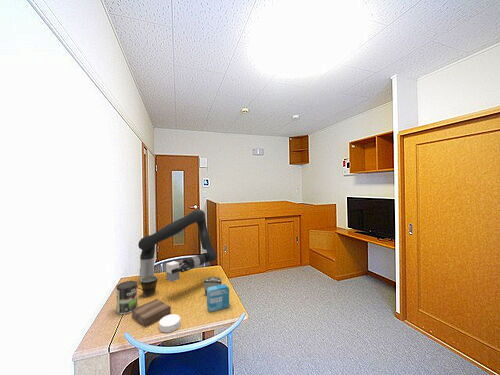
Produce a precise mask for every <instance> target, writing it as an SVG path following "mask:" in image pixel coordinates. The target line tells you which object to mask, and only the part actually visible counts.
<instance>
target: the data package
mask: <svg viewBox="0 0 500 375" xmlns="http://www.w3.org/2000/svg"><path fill="white" fill-rule="evenodd" d="M206 307H207V309H208V311H209V312H210V313H212V312H216V311H220V310H224V309H227V308H229V307H230V288H229V286H228V285H227V284H226V283H221V285H217V286H212V287H209V288H207V296H206Z"/></svg>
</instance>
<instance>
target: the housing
mask: <svg viewBox="0 0 500 375" xmlns="http://www.w3.org/2000/svg"><path fill="white" fill-rule="evenodd" d="M179 263H180V262H178V261H175V260H173V261H170V262H167V263H165V266H166V267H165V271H166V272H165V273H166V274H165V277H166V281H169V282H171V283H172V282H175V281H177V280H179V279H180V272H176V273H173V274H172V270H173V269H176V268H177V269H178V267H179Z"/></svg>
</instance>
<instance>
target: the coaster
mask: <svg viewBox="0 0 500 375" xmlns="http://www.w3.org/2000/svg"><path fill="white" fill-rule="evenodd" d="M181 321H182V320H181V316H180V315H178V314H174V313H173V314H170V315H167V316H165V317H163V318H162V319H160V320H158V322H159V323H158V330H159V331H160V332H162V333H172V332H175V331H177V330H178V329H179V328H180V326H181Z"/></svg>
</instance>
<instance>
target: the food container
mask: <svg viewBox="0 0 500 375" xmlns="http://www.w3.org/2000/svg"><path fill="white" fill-rule="evenodd" d="M222 280H223V279H222V278H220V277H218V276H217V277H216V276H210V277H206V278H205V279H203V281H202V284H203V288H204V296H205V297H207V288H209V287H212V286H217V285H222V284H223V281H222Z"/></svg>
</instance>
